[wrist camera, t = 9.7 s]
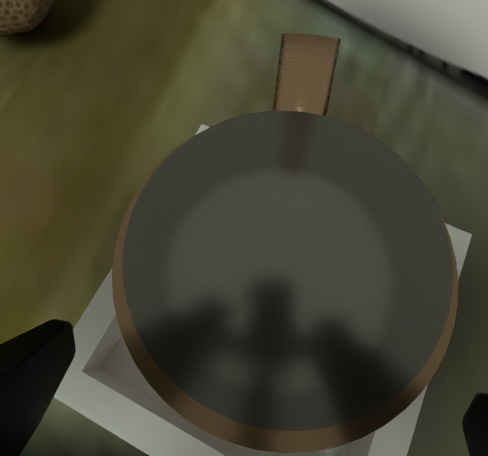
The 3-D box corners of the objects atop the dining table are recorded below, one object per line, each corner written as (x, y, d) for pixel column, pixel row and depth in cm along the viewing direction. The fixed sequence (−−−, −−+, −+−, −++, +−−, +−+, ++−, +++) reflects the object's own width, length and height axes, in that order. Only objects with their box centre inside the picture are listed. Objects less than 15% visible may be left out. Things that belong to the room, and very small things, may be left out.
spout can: (326, 398, 14) (511, 519, 4) (185, 373, 15) (29, 424, 5) (340, 219, 17) (473, 16, 7) (219, 203, 17) (169, -11, 7)
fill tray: (436, 253, 17) (472, 234, 15) (344, 539, 14) (367, 589, 11) (209, 156, 20) (201, 123, 17) (75, 380, 16) (36, 386, 13)
